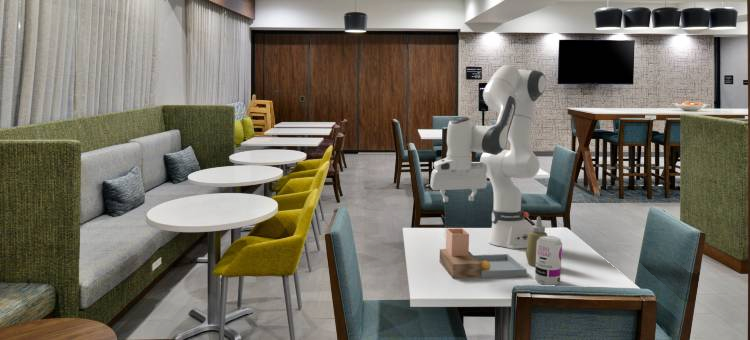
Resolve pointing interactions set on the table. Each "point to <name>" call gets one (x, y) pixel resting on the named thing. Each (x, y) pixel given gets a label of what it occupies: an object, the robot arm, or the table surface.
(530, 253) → the squeeze bottle
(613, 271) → the table surface
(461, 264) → the wooden block
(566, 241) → the table surface
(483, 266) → the ball
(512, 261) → the tray
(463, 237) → the sleeve
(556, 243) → the supplement can
